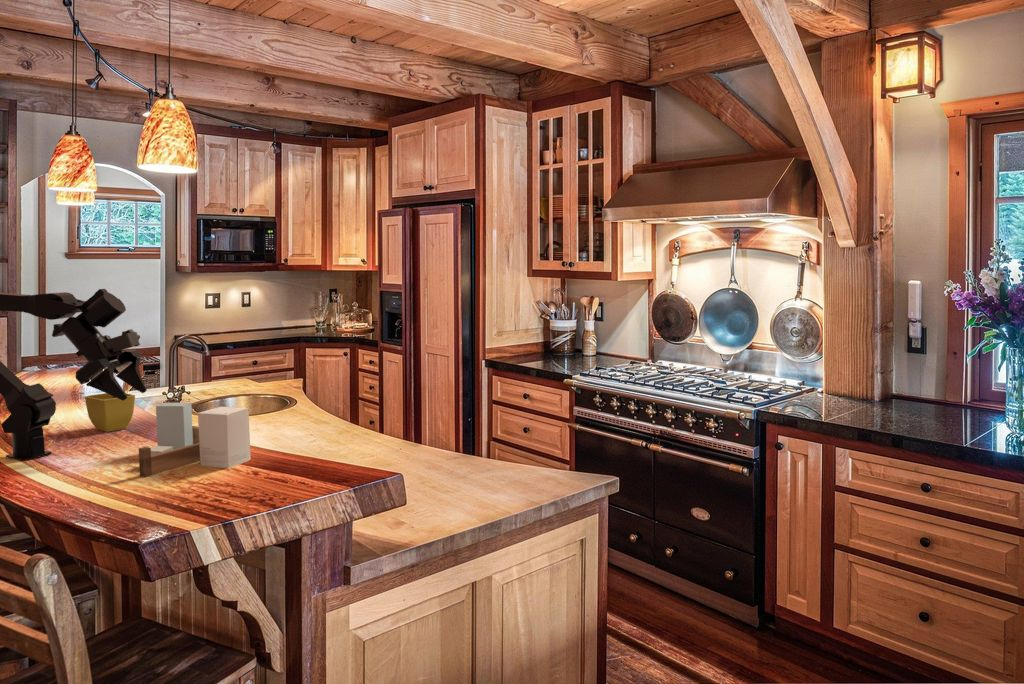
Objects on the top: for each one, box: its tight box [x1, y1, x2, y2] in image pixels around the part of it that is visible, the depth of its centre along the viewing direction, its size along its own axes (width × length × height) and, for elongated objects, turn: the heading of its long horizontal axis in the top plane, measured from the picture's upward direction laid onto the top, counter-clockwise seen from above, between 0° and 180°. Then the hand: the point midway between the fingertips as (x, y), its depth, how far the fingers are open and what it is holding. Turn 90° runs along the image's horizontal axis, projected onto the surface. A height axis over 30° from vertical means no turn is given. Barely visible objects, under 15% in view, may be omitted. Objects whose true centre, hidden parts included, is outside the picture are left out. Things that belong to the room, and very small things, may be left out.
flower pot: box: [84, 392, 136, 433], centre depth 191 cm, size 9×9×9 cm
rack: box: [138, 425, 200, 478], centre depth 159 cm, size 18×26×7 cm
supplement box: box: [197, 406, 252, 469], centre depth 155 cm, size 7×7×13 cm
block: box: [155, 402, 194, 449], centre depth 164 cm, size 6×4×12 cm, turn 89°
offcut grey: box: [150, 445, 173, 455], centre depth 153 cm, size 4×4×2 cm
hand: (135, 395), depth 165 cm, fingers open, 9 cm apart
